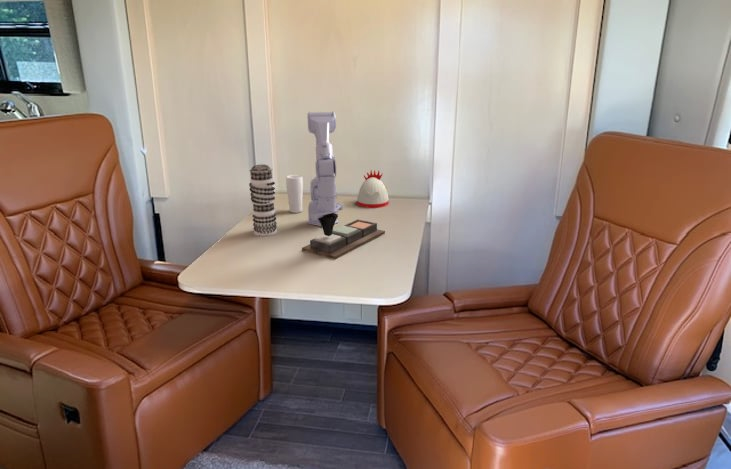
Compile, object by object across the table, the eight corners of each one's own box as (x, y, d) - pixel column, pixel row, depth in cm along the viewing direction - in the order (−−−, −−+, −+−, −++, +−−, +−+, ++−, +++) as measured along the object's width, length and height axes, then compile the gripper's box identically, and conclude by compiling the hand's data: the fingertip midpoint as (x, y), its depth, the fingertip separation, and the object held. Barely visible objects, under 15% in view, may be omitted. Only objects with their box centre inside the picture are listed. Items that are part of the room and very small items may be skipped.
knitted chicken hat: (388, 208, 223) (388, 173, 218) (356, 207, 223) (355, 173, 218) (388, 199, 236) (388, 166, 231) (358, 199, 237) (357, 166, 232)
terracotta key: (348, 231, 190) (348, 226, 189) (358, 226, 195) (358, 221, 194) (362, 234, 187) (362, 229, 186) (372, 229, 191) (372, 224, 191)
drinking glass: (307, 210, 220) (306, 175, 215) (297, 214, 214) (295, 179, 209) (295, 208, 223) (293, 173, 218) (284, 212, 218) (282, 177, 213)
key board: (302, 250, 176) (301, 240, 175) (353, 226, 199) (353, 217, 198) (334, 259, 168) (334, 248, 167) (384, 233, 192) (384, 223, 190)
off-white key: (314, 243, 175) (314, 238, 174) (326, 238, 180) (326, 232, 179) (329, 247, 171) (329, 241, 171) (341, 241, 176) (341, 236, 176)
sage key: (332, 235, 182) (332, 230, 182) (343, 230, 187) (343, 225, 187) (347, 239, 179) (346, 233, 178) (357, 234, 184) (357, 228, 183)
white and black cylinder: (273, 226, 200) (269, 162, 192) (281, 233, 192) (277, 166, 184) (250, 230, 196) (244, 164, 188) (257, 237, 188) (251, 169, 180)
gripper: (322, 202, 162) (323, 243, 167) (349, 192, 174) (350, 231, 178) (305, 199, 166) (306, 239, 171) (333, 189, 177) (334, 227, 182)
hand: (328, 235), depth 175 cm, fingers closed
